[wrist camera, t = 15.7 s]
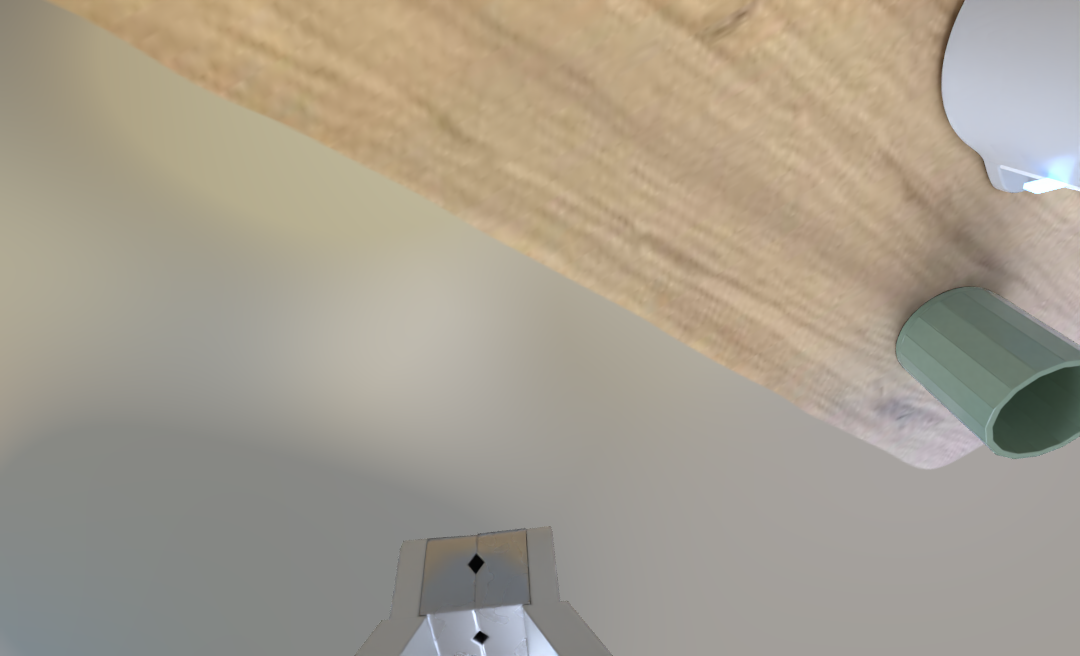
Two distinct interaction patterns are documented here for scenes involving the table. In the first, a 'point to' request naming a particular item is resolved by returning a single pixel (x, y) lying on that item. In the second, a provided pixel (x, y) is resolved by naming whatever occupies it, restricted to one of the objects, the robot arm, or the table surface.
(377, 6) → the table surface
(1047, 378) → the sage cup
